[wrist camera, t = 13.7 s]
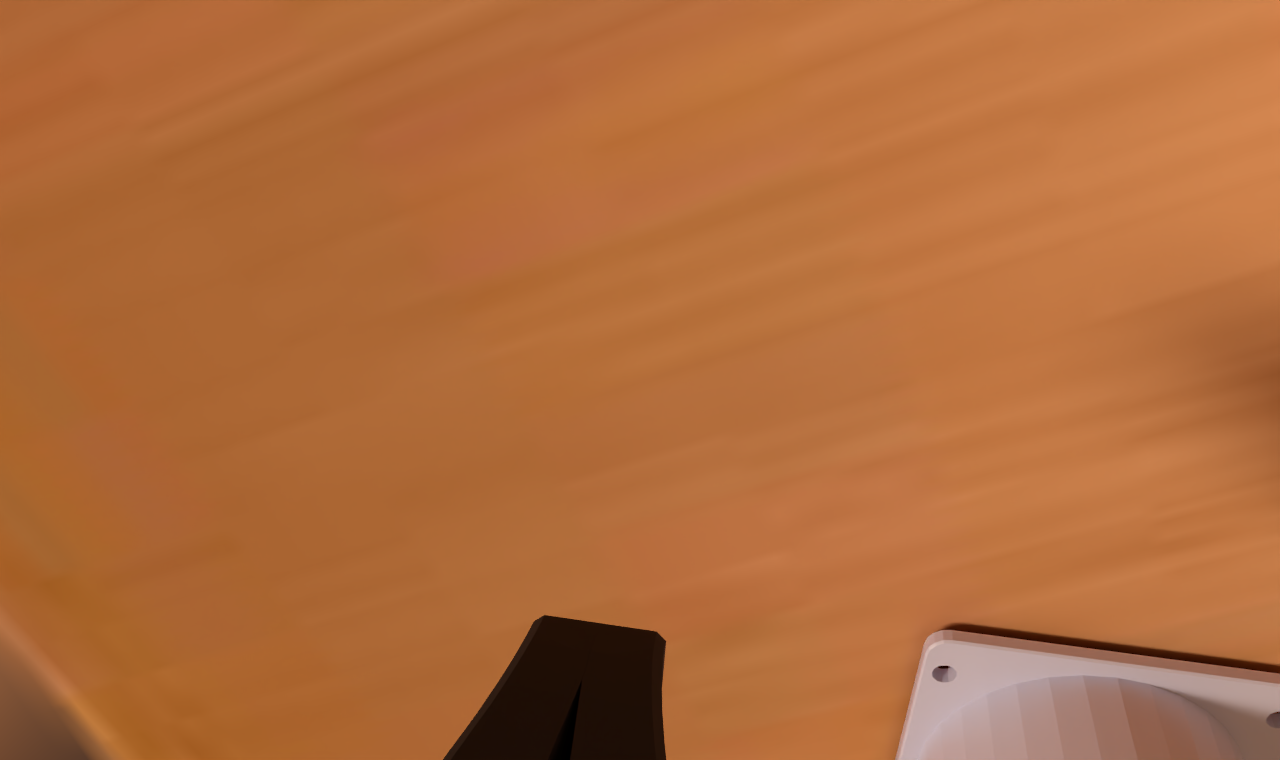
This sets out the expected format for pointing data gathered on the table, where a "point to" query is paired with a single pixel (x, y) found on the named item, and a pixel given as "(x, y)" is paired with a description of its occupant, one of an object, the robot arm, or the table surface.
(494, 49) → the table surface
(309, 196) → the table surface
